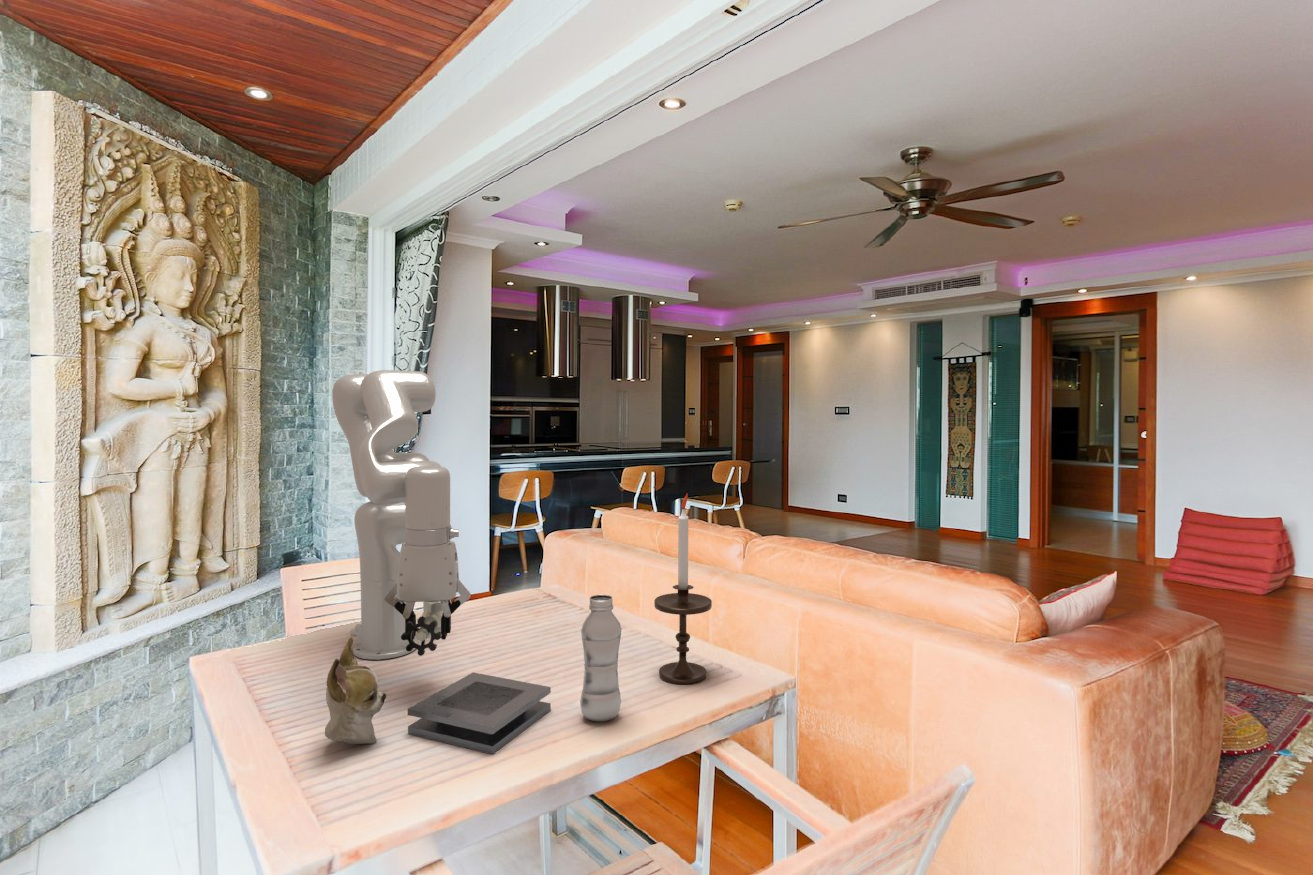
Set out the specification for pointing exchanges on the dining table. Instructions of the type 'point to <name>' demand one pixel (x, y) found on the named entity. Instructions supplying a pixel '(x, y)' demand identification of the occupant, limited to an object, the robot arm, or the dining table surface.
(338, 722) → the ceramic sculpture
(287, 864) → the dining table surface
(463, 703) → the stand
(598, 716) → the plastic bottle
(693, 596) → the candlestick
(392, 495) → the robot arm
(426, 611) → the valve
